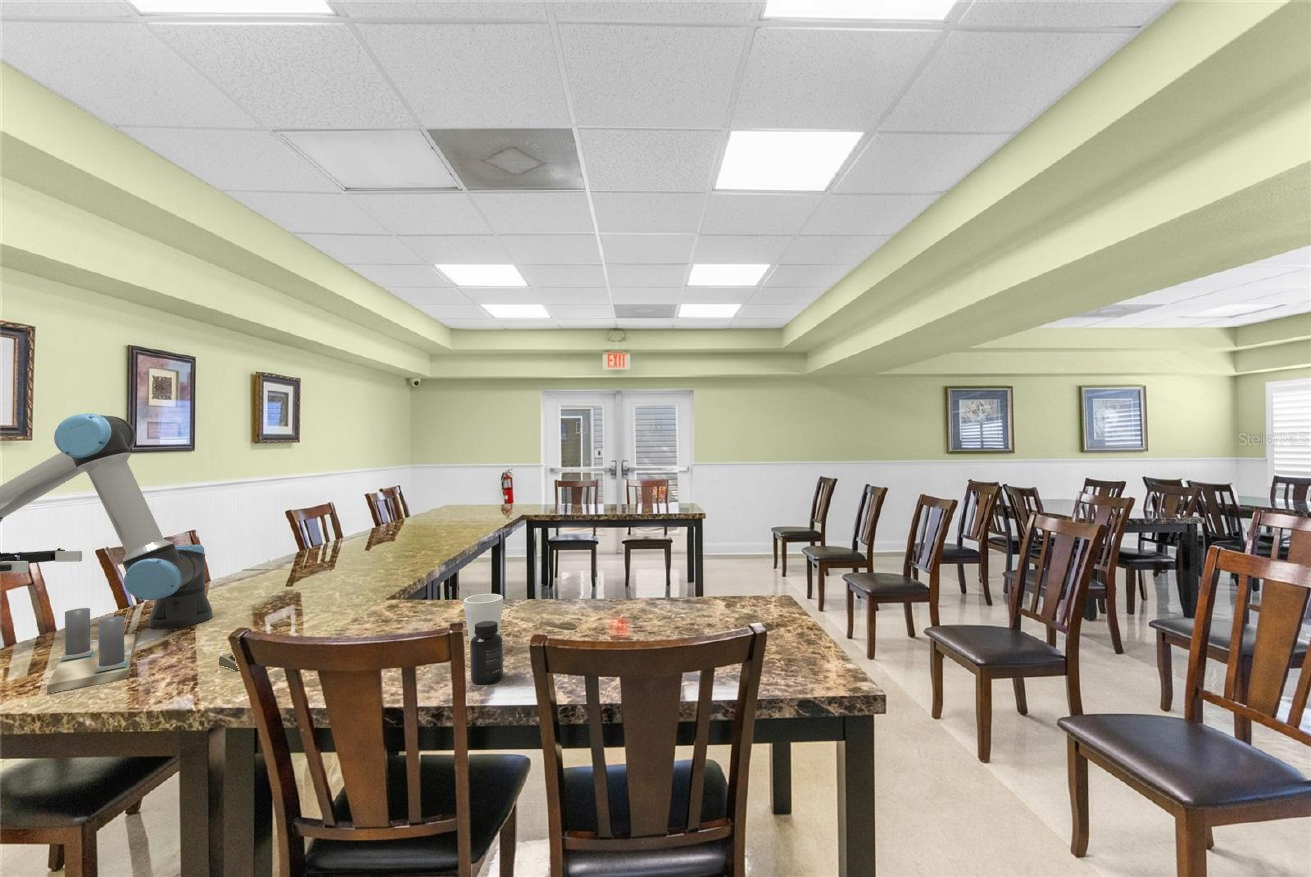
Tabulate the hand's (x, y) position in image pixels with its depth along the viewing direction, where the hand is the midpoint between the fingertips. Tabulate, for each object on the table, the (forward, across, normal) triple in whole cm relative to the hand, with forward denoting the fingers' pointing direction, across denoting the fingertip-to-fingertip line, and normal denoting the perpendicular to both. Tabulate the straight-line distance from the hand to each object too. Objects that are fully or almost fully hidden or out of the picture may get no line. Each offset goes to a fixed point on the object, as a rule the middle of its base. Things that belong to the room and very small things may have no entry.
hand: (55, 561), depth 154 cm
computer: (+57, +6, -24) cm, 62 cm away
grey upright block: (+14, +8, -22) cm, 27 cm away
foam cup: (+111, +3, -23) cm, 113 cm away
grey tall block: (+30, +16, -21) cm, 40 cm away
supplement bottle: (+117, +22, -22) cm, 121 cm away
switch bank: (+18, +8, -24) cm, 31 cm away
